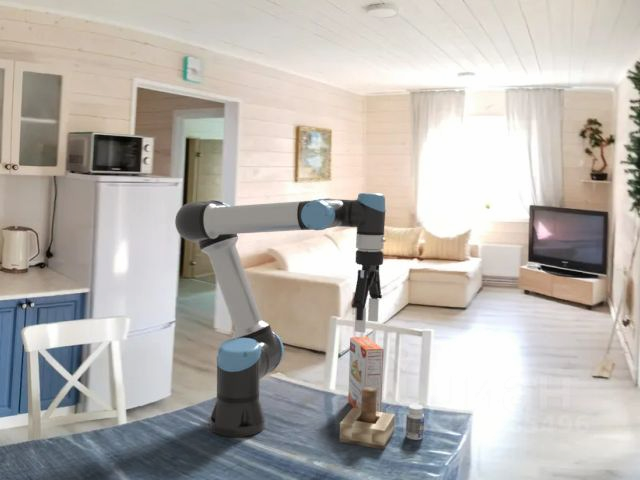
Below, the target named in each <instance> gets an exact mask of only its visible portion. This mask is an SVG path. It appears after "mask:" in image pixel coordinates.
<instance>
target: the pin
mask: <svg viewBox="0 0 640 480" xmlns="http://www.w3.org/2000/svg"><path fill="white" fill-rule="evenodd" d="M376 400H377V389H375V388H372V387H365V388H362V400H361V422H366V423H372V424H375V422H376Z"/></svg>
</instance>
